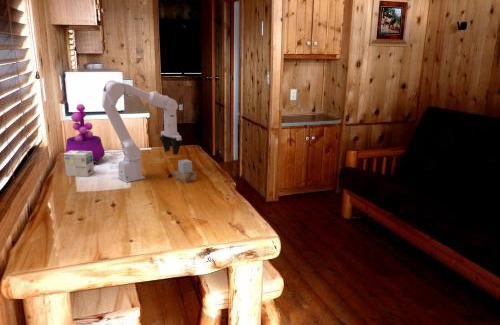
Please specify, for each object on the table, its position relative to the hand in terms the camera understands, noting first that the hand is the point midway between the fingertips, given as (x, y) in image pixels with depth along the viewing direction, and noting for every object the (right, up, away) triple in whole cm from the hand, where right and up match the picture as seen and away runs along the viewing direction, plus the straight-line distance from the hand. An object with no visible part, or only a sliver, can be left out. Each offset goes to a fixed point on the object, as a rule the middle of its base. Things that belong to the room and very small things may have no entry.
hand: (171, 152), depth 190 cm
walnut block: (+8, -13, -7) cm, 17 cm away
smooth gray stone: (+3, -11, +1) cm, 11 cm away
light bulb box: (-42, -10, -2) cm, 43 cm away
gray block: (+8, -9, -8) cm, 14 cm away
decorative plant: (-48, -5, +18) cm, 51 cm away
